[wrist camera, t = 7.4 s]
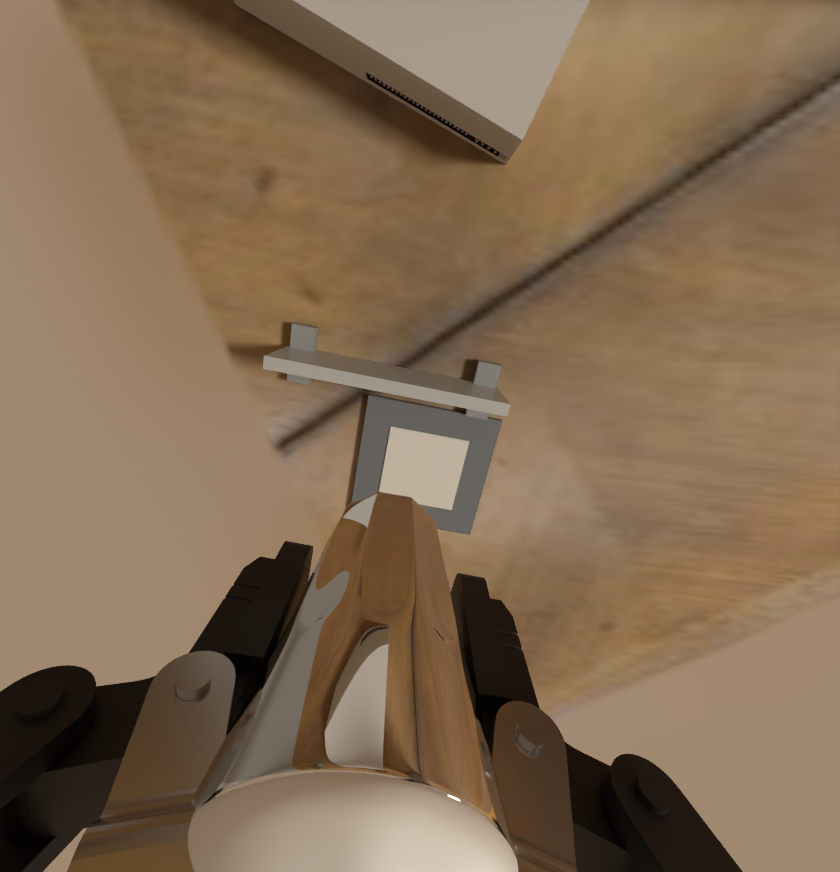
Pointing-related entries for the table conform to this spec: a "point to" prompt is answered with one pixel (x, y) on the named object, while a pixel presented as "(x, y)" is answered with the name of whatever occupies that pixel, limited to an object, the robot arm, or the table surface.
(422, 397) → the divider wall
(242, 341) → the table surface
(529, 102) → the disc drive
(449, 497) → the mat
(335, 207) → the table surface
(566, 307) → the table surface
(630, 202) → the table surface
